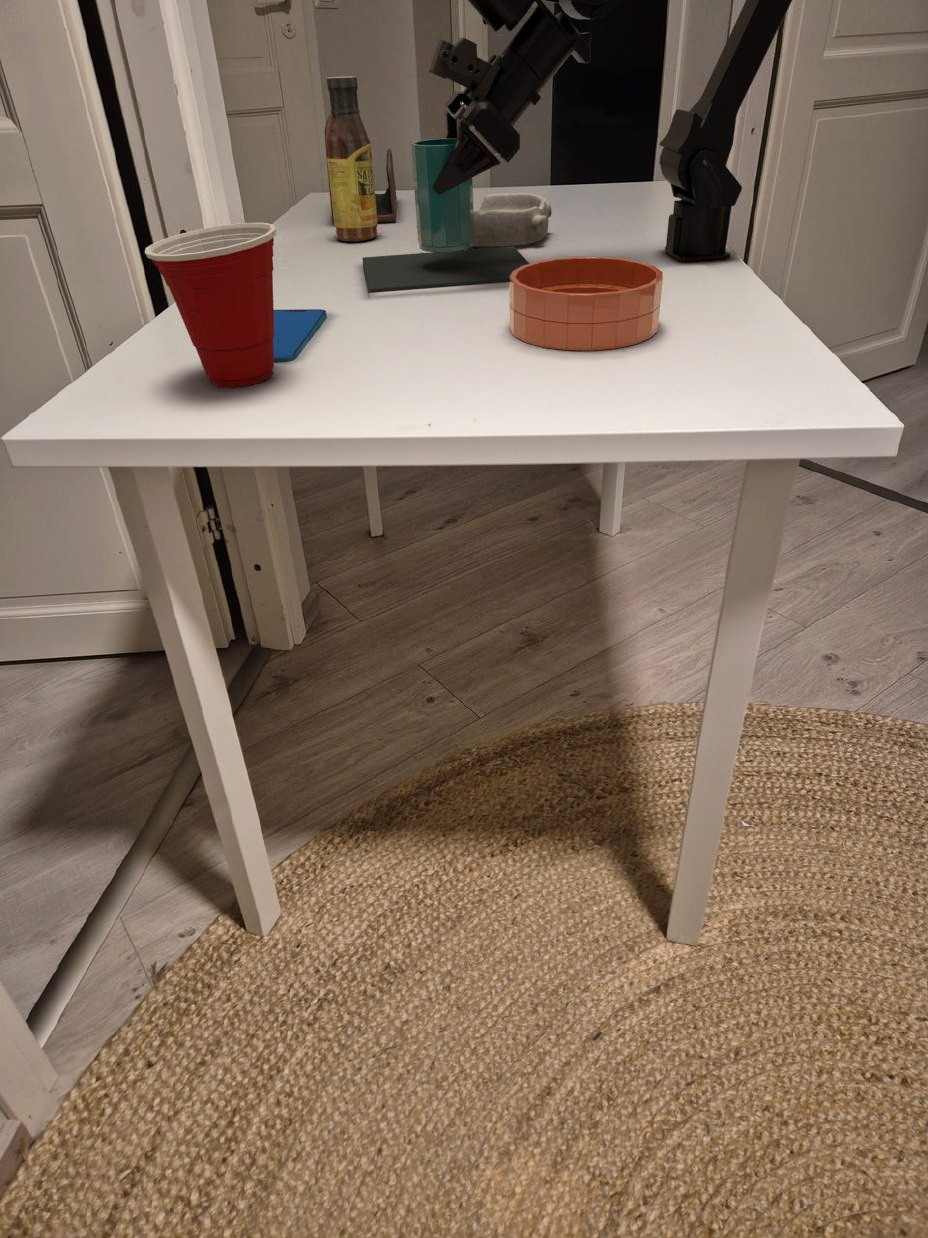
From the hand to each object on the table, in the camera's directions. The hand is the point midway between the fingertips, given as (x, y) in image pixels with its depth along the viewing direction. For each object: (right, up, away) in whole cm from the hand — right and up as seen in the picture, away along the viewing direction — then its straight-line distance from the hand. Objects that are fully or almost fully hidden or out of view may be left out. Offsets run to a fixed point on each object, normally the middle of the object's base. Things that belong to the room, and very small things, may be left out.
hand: (431, 186), depth 96 cm
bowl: (+15, -22, -15) cm, 31 cm away
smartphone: (-15, -22, -12) cm, 29 cm away
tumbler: (+2, -5, +4) cm, 7 cm away
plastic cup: (-17, -28, -21) cm, 39 cm away
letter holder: (-12, +17, +41) cm, 47 cm away
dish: (+9, +3, +21) cm, 23 cm away
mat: (+2, -8, +6) cm, 10 cm away
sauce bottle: (-12, +5, +25) cm, 28 cm away
